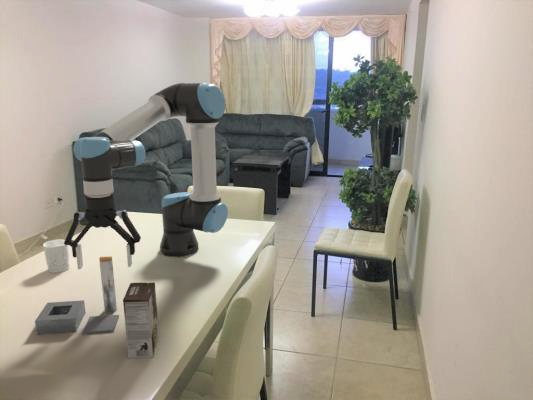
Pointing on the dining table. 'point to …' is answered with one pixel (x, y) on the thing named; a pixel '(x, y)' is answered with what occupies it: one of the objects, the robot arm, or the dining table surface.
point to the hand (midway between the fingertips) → (105, 266)
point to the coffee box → (141, 320)
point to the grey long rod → (108, 284)
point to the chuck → (60, 317)
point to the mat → (100, 324)
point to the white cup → (56, 255)
